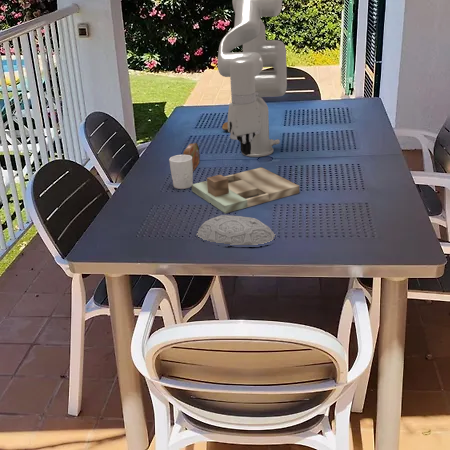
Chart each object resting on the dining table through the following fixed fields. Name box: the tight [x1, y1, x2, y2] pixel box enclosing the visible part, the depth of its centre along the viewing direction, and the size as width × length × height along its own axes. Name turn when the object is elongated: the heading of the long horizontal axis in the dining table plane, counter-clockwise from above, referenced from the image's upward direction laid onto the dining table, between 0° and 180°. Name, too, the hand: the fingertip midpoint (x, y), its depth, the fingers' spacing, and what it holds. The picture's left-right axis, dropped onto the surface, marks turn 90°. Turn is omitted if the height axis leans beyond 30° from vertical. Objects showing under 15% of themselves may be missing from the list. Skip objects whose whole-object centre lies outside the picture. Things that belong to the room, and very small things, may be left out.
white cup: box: [168, 154, 194, 190], centre depth 207 cm, size 8×8×10 cm
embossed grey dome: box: [196, 214, 276, 245], centre depth 170 cm, size 16×25×7 cm, turn 70°
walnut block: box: [206, 174, 229, 197], centre depth 194 cm, size 5×5×5 cm
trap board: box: [191, 167, 300, 214], centre depth 200 cm, size 28×23×2 cm
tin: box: [182, 142, 201, 172], centre depth 224 cm, size 15×3×8 cm, turn 168°
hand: (246, 153), depth 196 cm, fingers closed
